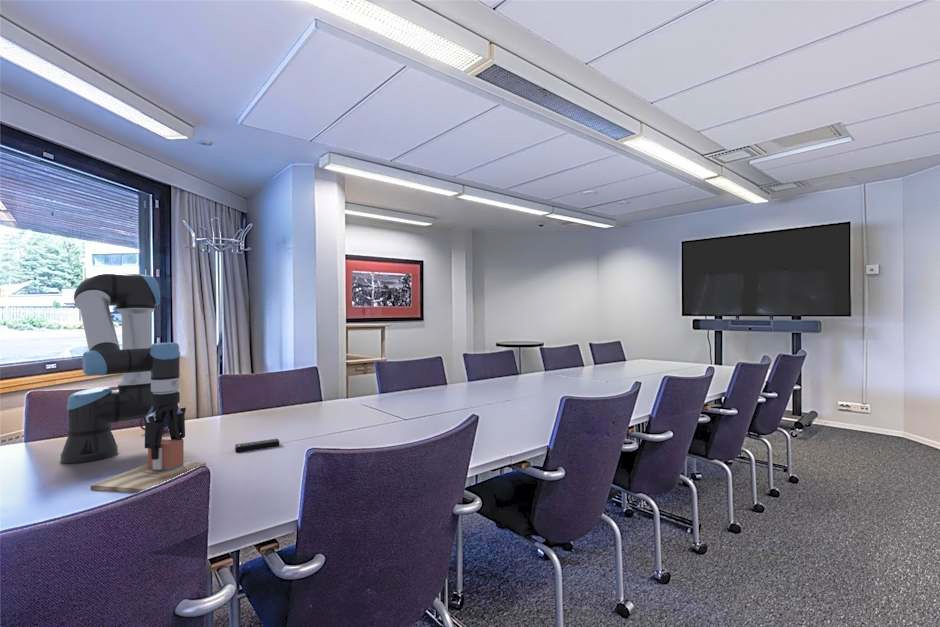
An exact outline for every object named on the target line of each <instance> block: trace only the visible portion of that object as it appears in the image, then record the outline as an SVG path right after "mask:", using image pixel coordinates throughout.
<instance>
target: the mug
mask: <svg viewBox="0 0 940 627" xmlns="http://www.w3.org/2000/svg"><path fill="white" fill-rule="evenodd" d="M143 421H144V419H140V421H139V427H140V428H141V430H143V431H145V427H143V424H142V423H143ZM158 423H159V422H158ZM165 432H166V433H168V432H169V429H168V425H167V423H166V426H164V430H163V434H166V433H165Z"/></svg>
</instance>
